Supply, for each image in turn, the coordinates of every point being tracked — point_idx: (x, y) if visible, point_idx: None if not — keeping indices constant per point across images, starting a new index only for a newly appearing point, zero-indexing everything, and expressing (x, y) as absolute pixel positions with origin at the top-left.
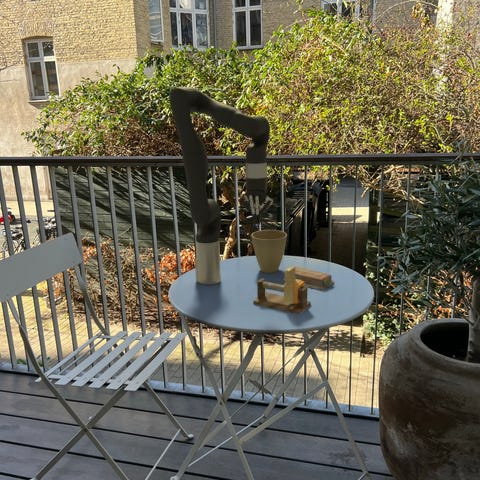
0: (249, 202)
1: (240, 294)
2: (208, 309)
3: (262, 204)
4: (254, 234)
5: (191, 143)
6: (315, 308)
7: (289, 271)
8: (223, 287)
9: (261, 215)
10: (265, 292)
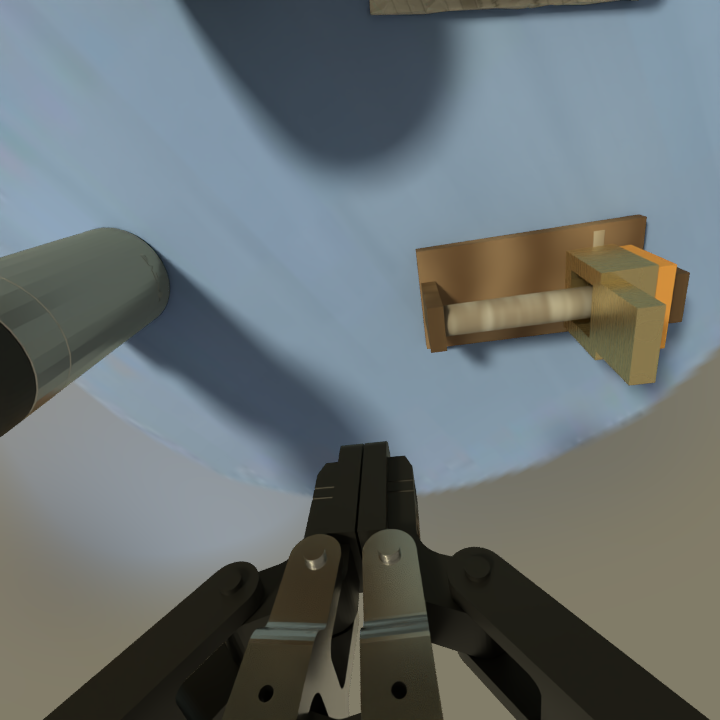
0: (130, 718)
1: (326, 306)
2: (333, 452)
3: (436, 688)
4: None
5: None
6: (670, 231)
7: (653, 374)
8: (220, 293)
9: (415, 522)
10: (417, 256)
